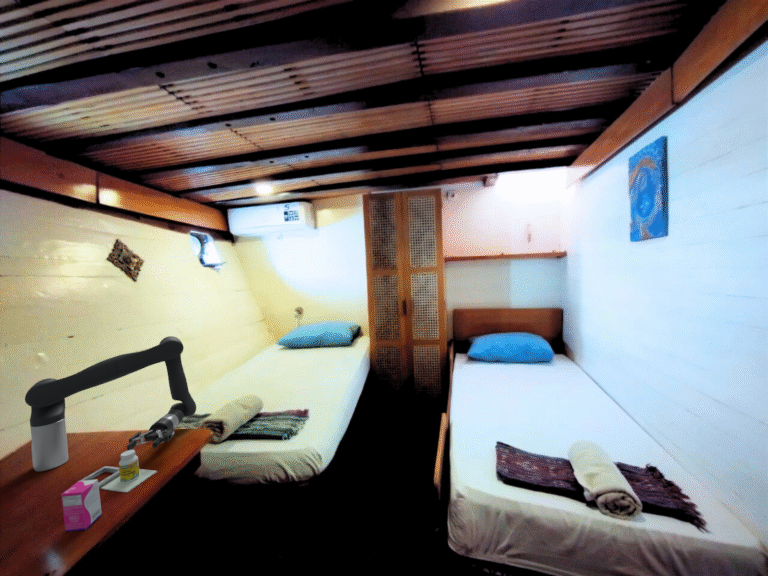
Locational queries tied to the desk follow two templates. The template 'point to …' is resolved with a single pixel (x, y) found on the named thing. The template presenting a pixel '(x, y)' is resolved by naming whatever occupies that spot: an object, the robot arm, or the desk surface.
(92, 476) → the square frame
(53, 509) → the desk surface
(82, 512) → the supplement box
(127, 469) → the supplement bottle
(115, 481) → the pad
